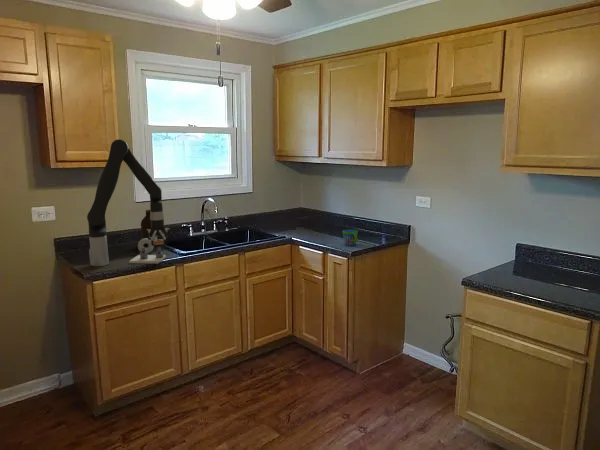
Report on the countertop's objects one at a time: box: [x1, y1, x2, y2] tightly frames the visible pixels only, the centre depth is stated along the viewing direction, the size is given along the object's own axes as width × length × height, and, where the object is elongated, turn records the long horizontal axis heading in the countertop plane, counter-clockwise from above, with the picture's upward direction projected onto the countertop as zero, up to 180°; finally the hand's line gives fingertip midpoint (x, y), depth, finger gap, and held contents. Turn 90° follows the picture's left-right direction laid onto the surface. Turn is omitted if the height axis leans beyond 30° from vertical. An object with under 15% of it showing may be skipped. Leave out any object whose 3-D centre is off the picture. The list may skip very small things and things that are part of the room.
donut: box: [137, 238, 155, 254], centre depth 288 cm, size 10×4×10 cm, turn 113°
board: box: [129, 254, 167, 265], centre depth 272 cm, size 17×14×2 cm
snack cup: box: [342, 229, 359, 247], centre depth 309 cm, size 16×10×10 cm
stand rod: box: [139, 246, 149, 259], centre depth 270 cm, size 4×4×6 cm
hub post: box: [155, 246, 164, 258], centre depth 273 cm, size 4×4×6 cm
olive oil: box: [140, 209, 158, 248], centre depth 307 cm, size 11×11×25 cm
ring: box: [153, 238, 164, 246], centre depth 272 cm, size 6×6×2 cm
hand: (158, 245), depth 272 cm, fingers closed on ring, 6 cm apart
